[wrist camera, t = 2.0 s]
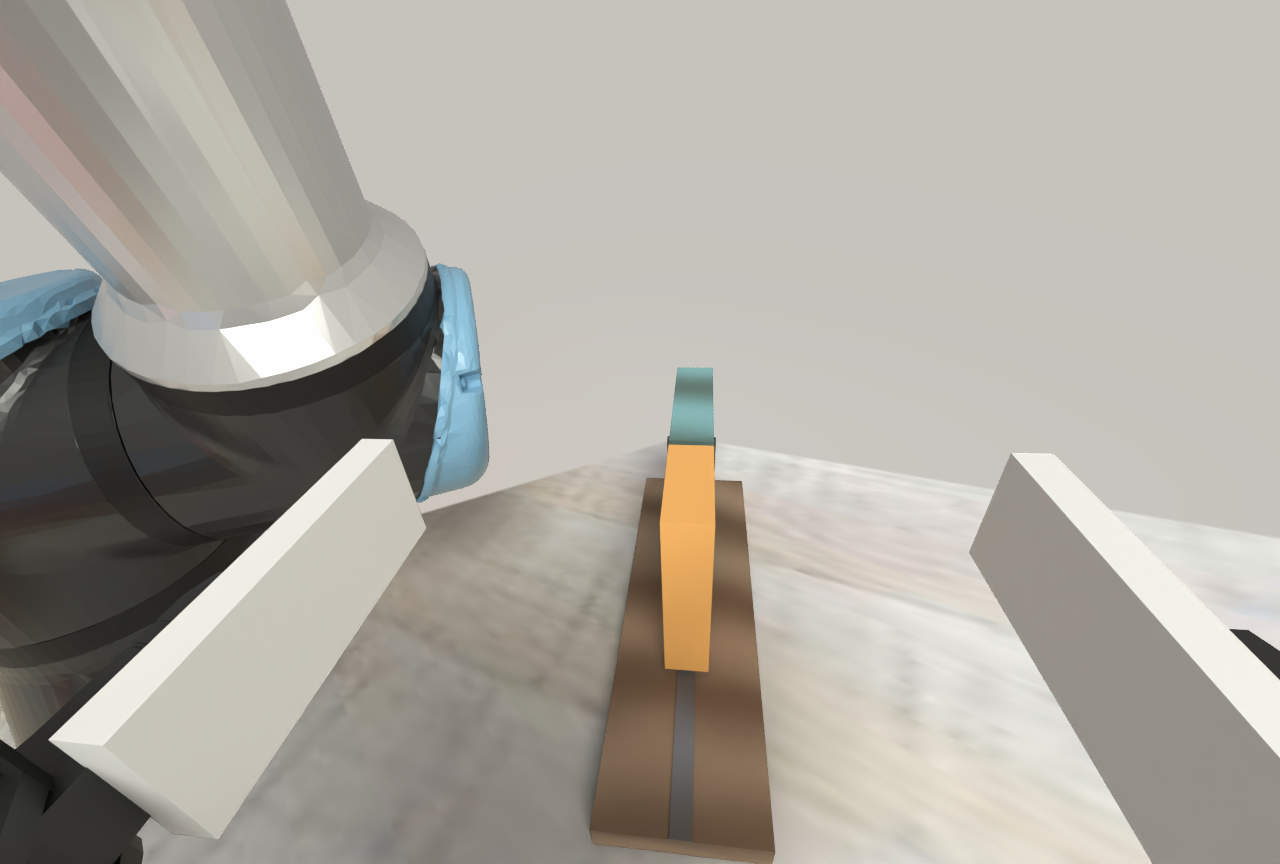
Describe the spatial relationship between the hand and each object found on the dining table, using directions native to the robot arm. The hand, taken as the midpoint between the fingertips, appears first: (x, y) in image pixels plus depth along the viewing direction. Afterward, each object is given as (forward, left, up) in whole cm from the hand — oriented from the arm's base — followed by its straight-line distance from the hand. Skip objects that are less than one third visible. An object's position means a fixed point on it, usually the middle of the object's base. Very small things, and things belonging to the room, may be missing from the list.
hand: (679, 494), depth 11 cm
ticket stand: (-4, +12, -21) cm, 24 cm away
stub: (-4, +10, -19) cm, 22 cm away
